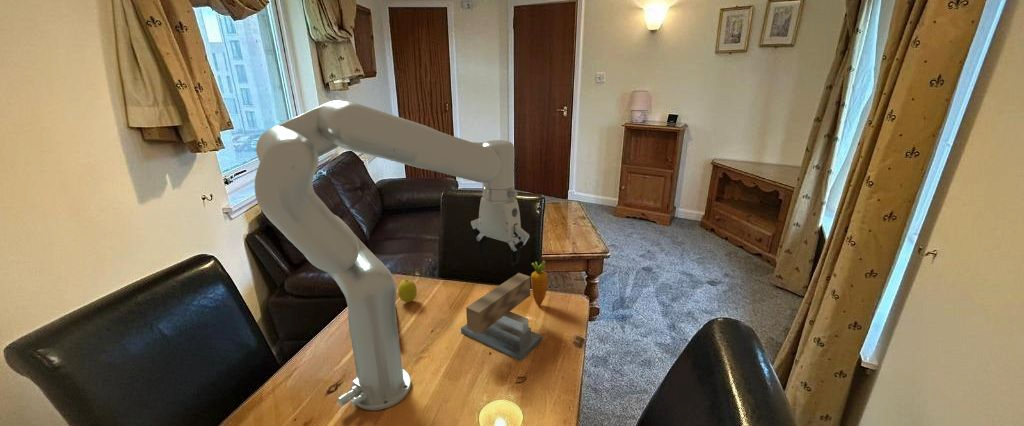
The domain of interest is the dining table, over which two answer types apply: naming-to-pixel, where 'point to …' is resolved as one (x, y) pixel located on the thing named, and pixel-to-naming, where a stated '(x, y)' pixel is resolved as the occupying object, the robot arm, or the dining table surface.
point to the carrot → (539, 283)
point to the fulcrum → (508, 336)
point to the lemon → (407, 291)
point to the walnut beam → (497, 303)
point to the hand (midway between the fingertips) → (499, 258)
